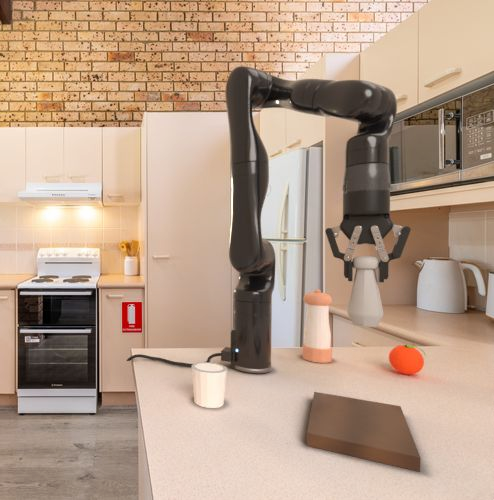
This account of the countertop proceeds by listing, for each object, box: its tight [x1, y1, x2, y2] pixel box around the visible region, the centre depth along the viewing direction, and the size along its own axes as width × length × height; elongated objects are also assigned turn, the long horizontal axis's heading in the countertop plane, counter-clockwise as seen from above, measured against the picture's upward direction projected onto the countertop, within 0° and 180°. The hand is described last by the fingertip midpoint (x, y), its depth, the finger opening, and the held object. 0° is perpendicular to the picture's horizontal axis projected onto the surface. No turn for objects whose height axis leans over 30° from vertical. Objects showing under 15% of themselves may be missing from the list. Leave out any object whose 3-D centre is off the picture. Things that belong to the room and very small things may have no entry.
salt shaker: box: [346, 255, 384, 328], centre depth 74 cm, size 6×6×13 cm
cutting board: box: [306, 391, 421, 472], centre depth 65 cm, size 14×20×2 cm
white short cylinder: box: [191, 361, 228, 409], centre depth 77 cm, size 7×7×7 cm
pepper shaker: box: [301, 289, 333, 364], centre depth 108 cm, size 7×7×19 cm
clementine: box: [388, 344, 427, 376], centre depth 95 cm, size 8×7×7 cm
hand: (365, 281), depth 74 cm, fingers closed on salt shaker, 4 cm apart
